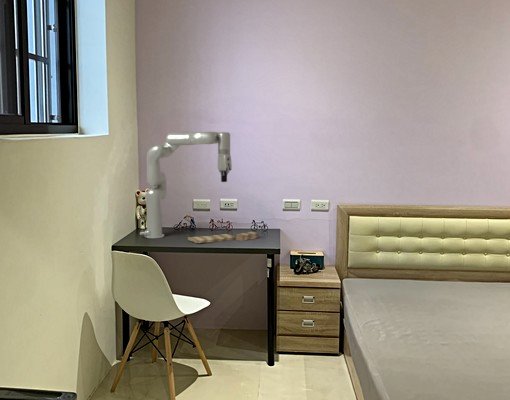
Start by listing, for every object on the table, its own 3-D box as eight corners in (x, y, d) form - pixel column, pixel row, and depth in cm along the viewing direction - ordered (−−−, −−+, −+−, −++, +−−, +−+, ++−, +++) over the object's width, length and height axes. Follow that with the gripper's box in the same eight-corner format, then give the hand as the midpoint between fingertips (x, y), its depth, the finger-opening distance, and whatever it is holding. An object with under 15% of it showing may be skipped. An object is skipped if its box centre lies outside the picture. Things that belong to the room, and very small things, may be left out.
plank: (197, 243, 348) (197, 240, 348) (187, 239, 358) (188, 237, 358) (216, 241, 356) (217, 239, 356) (207, 238, 366) (207, 236, 366)
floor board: (217, 241, 357) (217, 239, 356) (207, 238, 366) (207, 236, 366) (236, 239, 364) (236, 236, 364) (226, 236, 374) (226, 233, 374)
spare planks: (242, 240, 360) (242, 235, 359) (235, 239, 364) (235, 234, 364) (259, 237, 370) (259, 233, 370) (252, 236, 375) (252, 231, 374)
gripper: (235, 152, 350) (235, 182, 353) (223, 151, 363) (223, 180, 365) (225, 152, 346) (225, 183, 349) (212, 151, 358) (212, 181, 361)
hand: (224, 181), depth 357 cm, fingers closed
